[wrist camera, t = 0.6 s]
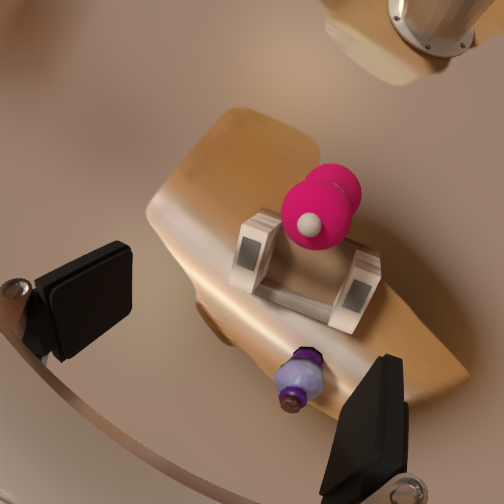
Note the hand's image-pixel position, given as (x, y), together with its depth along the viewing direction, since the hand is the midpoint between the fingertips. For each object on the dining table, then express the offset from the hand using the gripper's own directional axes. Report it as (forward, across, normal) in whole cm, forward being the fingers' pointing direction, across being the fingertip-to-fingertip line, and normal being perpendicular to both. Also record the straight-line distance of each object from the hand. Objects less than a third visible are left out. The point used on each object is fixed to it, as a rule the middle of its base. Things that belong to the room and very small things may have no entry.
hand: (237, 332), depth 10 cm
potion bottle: (+33, -6, +29) cm, 44 cm away
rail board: (+33, 0, +12) cm, 35 cm away
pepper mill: (+33, 0, 0) cm, 33 cm away
